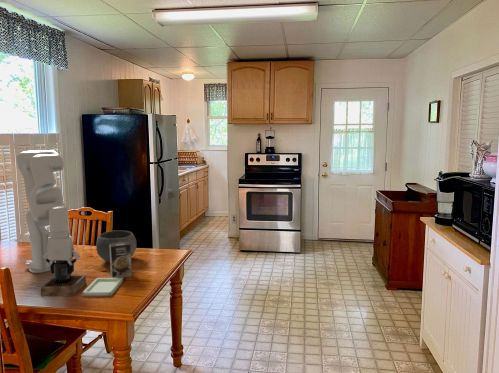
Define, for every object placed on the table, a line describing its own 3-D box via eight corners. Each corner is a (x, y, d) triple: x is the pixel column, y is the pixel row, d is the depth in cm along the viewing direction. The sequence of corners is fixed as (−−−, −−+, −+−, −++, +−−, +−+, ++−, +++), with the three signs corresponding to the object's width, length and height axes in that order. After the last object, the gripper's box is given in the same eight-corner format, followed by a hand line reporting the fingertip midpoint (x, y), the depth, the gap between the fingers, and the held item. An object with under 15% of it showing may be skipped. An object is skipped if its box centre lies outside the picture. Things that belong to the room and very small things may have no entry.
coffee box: (112, 279, 181) (110, 246, 178) (110, 275, 186) (108, 243, 184) (132, 276, 185) (130, 244, 183) (129, 272, 191) (128, 240, 188)
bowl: (111, 270, 192) (110, 242, 190) (89, 262, 205) (87, 235, 202) (144, 259, 208) (143, 233, 206) (122, 252, 221) (120, 227, 218)
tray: (82, 296, 163) (82, 292, 163) (97, 281, 179) (96, 277, 179) (110, 296, 163) (110, 292, 163) (122, 281, 179) (122, 277, 179)
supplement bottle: (73, 278, 174) (72, 253, 172) (68, 284, 167) (66, 258, 165) (57, 278, 173) (56, 253, 171) (52, 285, 166) (50, 258, 164)
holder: (40, 296, 163) (40, 287, 162) (56, 283, 177) (56, 275, 176) (72, 296, 163) (72, 287, 163) (86, 283, 177) (85, 275, 176)
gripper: (35, 236, 162) (38, 275, 166) (76, 236, 163) (78, 276, 166) (44, 231, 170) (47, 269, 173) (83, 231, 170) (85, 269, 173)
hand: (62, 272), depth 169 cm, fingers closed on supplement bottle, 6 cm apart
